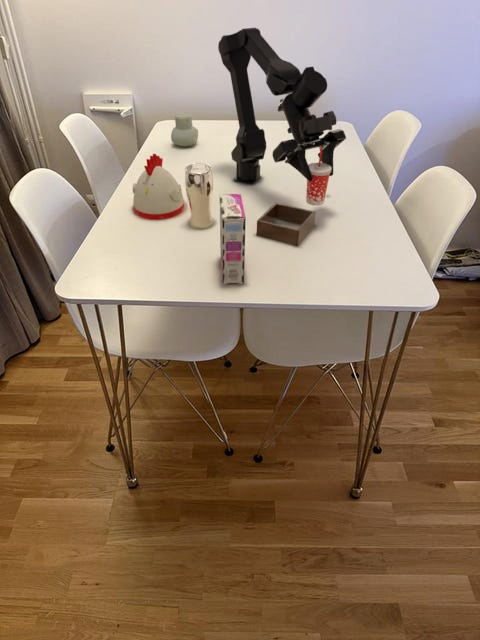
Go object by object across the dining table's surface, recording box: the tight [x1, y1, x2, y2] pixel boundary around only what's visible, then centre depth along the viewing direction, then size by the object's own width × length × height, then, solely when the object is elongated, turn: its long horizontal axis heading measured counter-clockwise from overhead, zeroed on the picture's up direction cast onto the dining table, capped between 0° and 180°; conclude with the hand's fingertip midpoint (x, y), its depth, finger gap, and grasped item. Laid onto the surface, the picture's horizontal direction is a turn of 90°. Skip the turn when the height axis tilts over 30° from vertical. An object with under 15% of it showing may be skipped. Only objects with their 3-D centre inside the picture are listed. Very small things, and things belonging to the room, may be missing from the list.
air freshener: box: [170, 112, 199, 147], centre depth 164 cm, size 11×8×10 cm
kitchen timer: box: [132, 153, 185, 221], centre depth 124 cm, size 14×14×15 cm
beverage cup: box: [305, 146, 332, 207], centre depth 113 cm, size 6×6×14 cm
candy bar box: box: [219, 193, 247, 286], centre depth 100 cm, size 11×5×16 cm, turn 5°
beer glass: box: [184, 162, 214, 230], centre depth 118 cm, size 7×7×15 cm
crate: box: [256, 202, 317, 247], centre depth 118 cm, size 11×11×4 cm
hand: (321, 178), depth 113 cm, fingers closed on beverage cup, 6 cm apart
